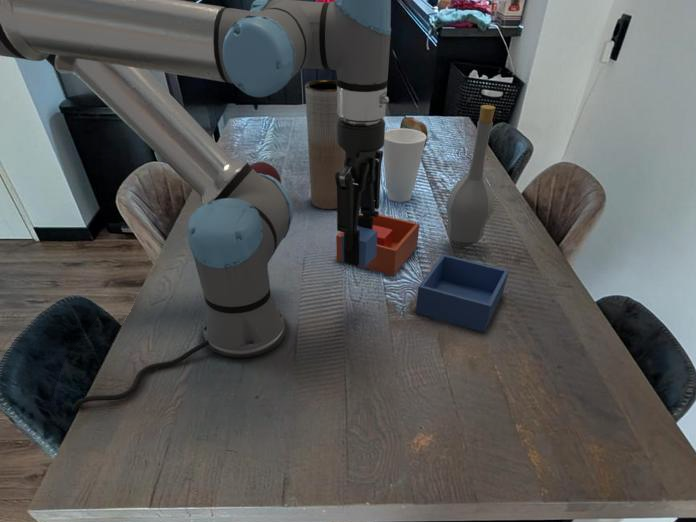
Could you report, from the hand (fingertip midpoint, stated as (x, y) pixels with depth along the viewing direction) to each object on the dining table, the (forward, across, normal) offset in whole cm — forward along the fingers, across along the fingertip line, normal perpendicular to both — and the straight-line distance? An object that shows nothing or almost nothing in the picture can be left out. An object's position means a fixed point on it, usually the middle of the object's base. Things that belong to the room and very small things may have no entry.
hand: (358, 256), depth 90 cm
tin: (+11, +96, +25) cm, 100 cm away
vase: (+12, +42, +29) cm, 52 cm away
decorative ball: (+12, +34, +45) cm, 58 cm away
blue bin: (+11, +11, -19) cm, 25 cm away
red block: (+11, +22, +5) cm, 25 cm away
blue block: (0, 0, 0) cm, 0 cm away
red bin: (+11, +22, +5) cm, 25 cm away
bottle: (+11, +35, -12) cm, 39 cm away
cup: (+11, +55, +13) cm, 58 cm away
